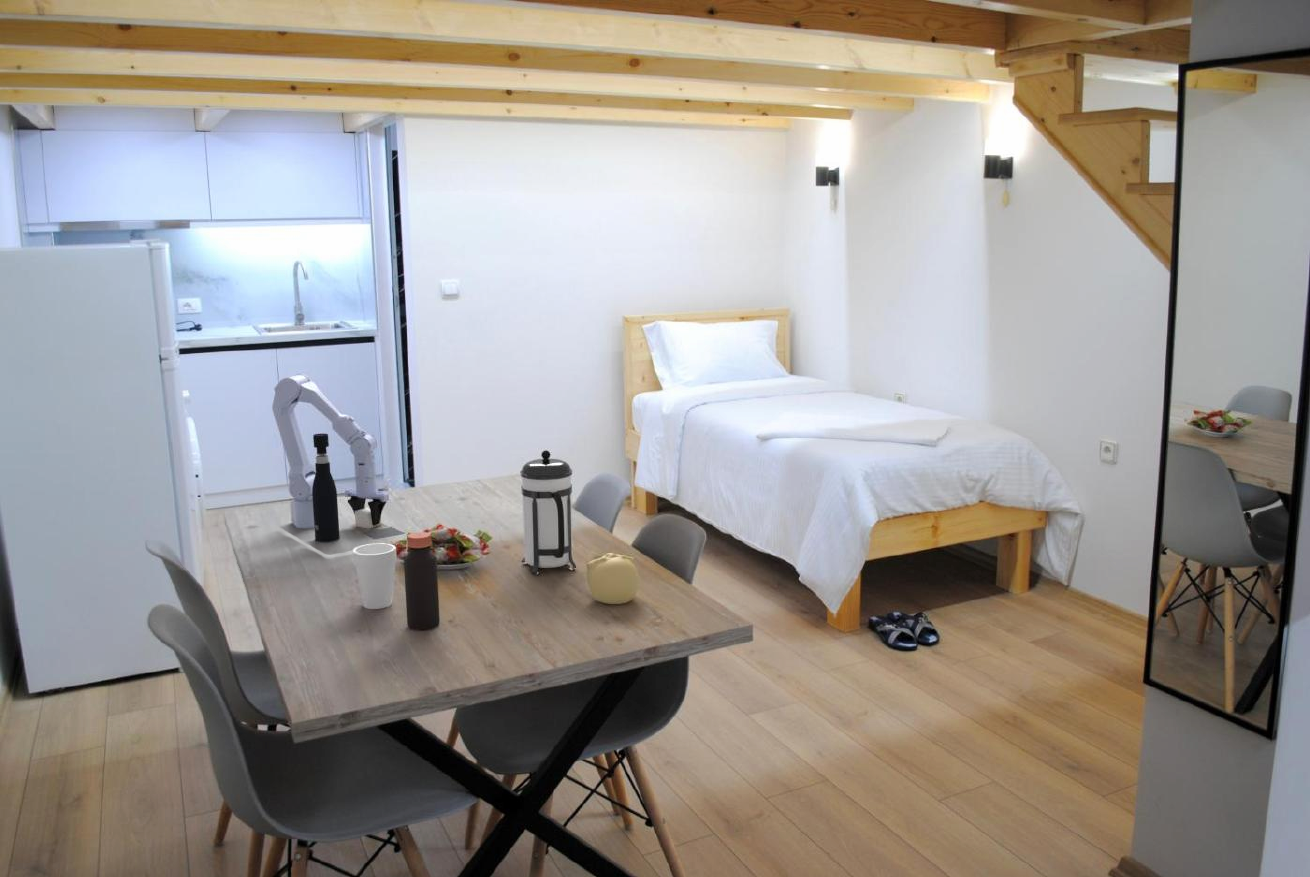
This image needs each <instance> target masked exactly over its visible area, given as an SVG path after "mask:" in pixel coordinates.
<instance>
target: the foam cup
mask: <svg viewBox="0 0 1310 877" xmlns="http://www.w3.org/2000/svg"><path fill="white" fill-rule="evenodd" d="M396 559H397V547H396V545H393V544H392V543H383V542H380V543H379V542H378V543H377V542H374V543H367V544H362V545H358V546H355V547H354V548H353V549H352V560H353V561H352V562H353V563H354V566H355V572H356V576H357V581H358V587H359V592H360V596H361V600H362V601H361V602H362V606H363V608H365V609H368V610H369V609H370V610H380V609H384V608H387V607H390V606H391V605H392V604H393V596H394V593H393V592H394V583H395V570H396Z"/></svg>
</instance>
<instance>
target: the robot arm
mask: <svg viewBox="0 0 1310 877" xmlns="http://www.w3.org/2000/svg"><path fill="white" fill-rule="evenodd" d="M299 403H307V404H311V405H312V406H313V407H314V408H315V409H316V410H318V412H320V413H321V415H323V416H324V417H325V418H326V419H328V421H330V422H331V425H332V426H331V428H332V430H333V431H334V433H336V434H337V435H338V436H339V437H340V439H342V440H343V441H344V442H345V443H346V444H347V445H348V446H349V451H350V452H351V454H352V455H353V458H354V460H353V461H354V462H353V463H354V479H355V480H354V481H355V488H353V489H352V488H348V489H345V490H344V494H345V495H344V497H345V498H349V497H350V499H347V503H348V505H349V506H350V508H351V509H352V512H353V514H354V515H355V511H357V510H360V509H364V508H366V507H365V506H366V500H369V501H368V502H367V505H368V507H369V508H370V511H371V517H372V524H373V525H377V524H379V523H380V518H381V519H382V514H383V510H384V507H385V506H386V504H387V502H388V501H390V494H389V493H386V492H382V491H379V489H378V488H377V472H376V470H377V469H376V455H375V454H376V453H375V450H376V449H377V447H378V443H377V438H375V436H374V435H373V434H372V433H368V432H367V431H366V429H362V427H360V426H359V425H358V424H357V422H356V421H355V418H354V417H353V416H349V414H342V413H341V412H340V411H339V410H338V409H337V408H336V407H335V406H334V404H333V403H332V402H330V400H329V399H328V398H327V396H325V394H324V393H322V391H321V390H320V389H319V387H318V386H317V384H316V383H315V382H314V381H313V380H311V379H310V378H309V377H308V376H307V375H306V374H303V373H296V374H295V375H292V376H289V377H283V378H281V380H279V381H278V383H277V384H276V386H275V387H274V396H273V401H272V407H271V408H272V412H273V416H274V419H275V422H276V426H277V429H278V432H279V436H280V438H281V442H282V445H283V449H284V452H285V454H286V455H285V456H286V458H287V462H288V465H289V467H290V468H289V472H288V476H287V478H288V481H289V482H288V483H289V484H288V492H289V494H290V496H291V497H292V500H291V502H290V504H289V507H290V520H291V524H293V526H295V528H298V529H313V528H314V513H313V499H312V487H313V482H314V478H315V474H316V467H315V466H314V465H313V464H311V463H310V461H309V457H308V453H307V450H306V448H305V447H306V446H305V445H304V441H303V436H302V434H301V433H302V432H301V430H300V427H299V423H298V420H297V418H296V415H295V414H296V413H295V411H294V410H295V408H296V407H297V405H298V404H299Z"/></svg>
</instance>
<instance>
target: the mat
mask: <svg viewBox="0 0 1310 877" xmlns="http://www.w3.org/2000/svg"><path fill="white" fill-rule="evenodd" d="M360 532H361V534H364V535H366V536H368V537H369V538H372V539H373V540H378V539H382V538H383V539H384V538H388V537H389V538H390V537H393V536H394V537H395V536H399V535H405V534H406V533H405V532H404V531H401V530H399V529H397V528H395V527H394V526H393V527H392V526H389V527H388V526H387V527H381V528H376V529H370V530H365V531H360Z"/></svg>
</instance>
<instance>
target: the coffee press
mask: <svg viewBox="0 0 1310 877" xmlns="http://www.w3.org/2000/svg"><path fill="white" fill-rule="evenodd" d="M551 455H552V454H551V452H550V451H549V450H543V451H542V452H541V455H540V456H541V458H538V459H533V460H532V459H531V460H530V461H527V462H526V463H525V464H524V465H523V466H522V470H520V473H519V476H520V478H521V481H522V482H521V485H520V486H521V495H522V517H523V518H522V520H523V544H524V545H523V548H524V549H523V552H524V557H523V558H522V560H521V564H522V563H523V562H526V563H527V565H530V566H532V570H531V575H532V574H537V572H540V573H541V570H543V568H544V569H550V568H559V567H566V568H567V569H568V568H570V567H572V569H573V568H576V569H577V565H576V563H575V562H574V560H573V520H572V519H573V518H572V515H573V514H572V513H573V512H572V508H573V507H572V493H573V484H572V481H571V480H572V475H573V469H572V468H571V467H570V464H569V463H568V462H566V461H565V460H562V459H559V458H550V457H551ZM569 564H571V566H570V565H569Z"/></svg>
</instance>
